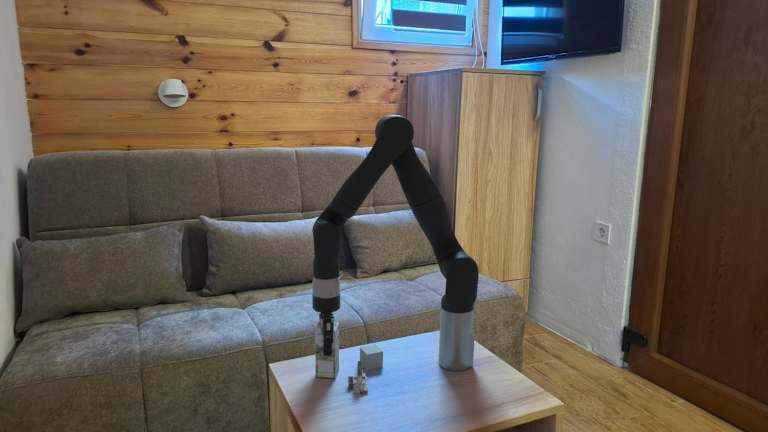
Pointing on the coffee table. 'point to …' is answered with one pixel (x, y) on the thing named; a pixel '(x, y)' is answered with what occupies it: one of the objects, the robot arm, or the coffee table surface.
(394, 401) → the coffee table surface
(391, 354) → the coffee table surface
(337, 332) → the syrup box
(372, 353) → the grey block
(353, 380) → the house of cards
